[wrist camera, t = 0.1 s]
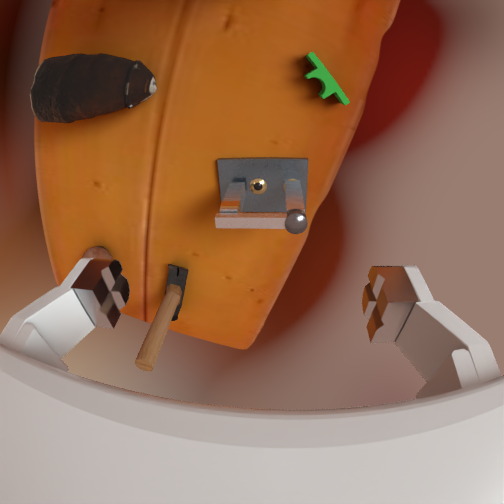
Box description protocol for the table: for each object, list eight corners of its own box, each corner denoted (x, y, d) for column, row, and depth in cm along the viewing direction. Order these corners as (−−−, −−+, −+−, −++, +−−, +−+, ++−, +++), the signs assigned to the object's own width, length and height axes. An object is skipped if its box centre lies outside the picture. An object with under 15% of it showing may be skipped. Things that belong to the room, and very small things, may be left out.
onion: (116, 256, 77) (110, 288, 73) (87, 251, 74) (80, 282, 69) (116, 242, 70) (109, 277, 65) (84, 236, 66) (76, 270, 62)
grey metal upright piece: (228, 178, 56) (213, 214, 44) (301, 178, 55) (308, 214, 43) (229, 194, 58) (216, 233, 46) (300, 194, 57) (306, 234, 45)
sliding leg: (230, 180, 56) (218, 208, 46) (245, 179, 56) (238, 208, 46) (231, 194, 58) (220, 225, 48) (246, 194, 58) (239, 225, 48)
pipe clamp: (293, 63, 42) (295, 62, 38) (309, 53, 40) (312, 51, 37) (329, 109, 47) (333, 112, 43) (344, 99, 45) (350, 102, 41)
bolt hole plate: (218, 158, 55) (217, 160, 54) (307, 158, 53) (308, 159, 52) (223, 209, 62) (222, 212, 61) (305, 210, 60) (305, 212, 59)
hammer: (174, 254, 74) (133, 328, 47) (192, 259, 74) (158, 337, 47) (164, 309, 82) (132, 385, 55) (179, 314, 83) (152, 392, 56)
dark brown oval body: (142, 128, 40) (26, 129, 35) (159, 120, 53) (61, 119, 48) (156, 43, 33) (34, 55, 27) (170, 56, 46) (69, 59, 40)
